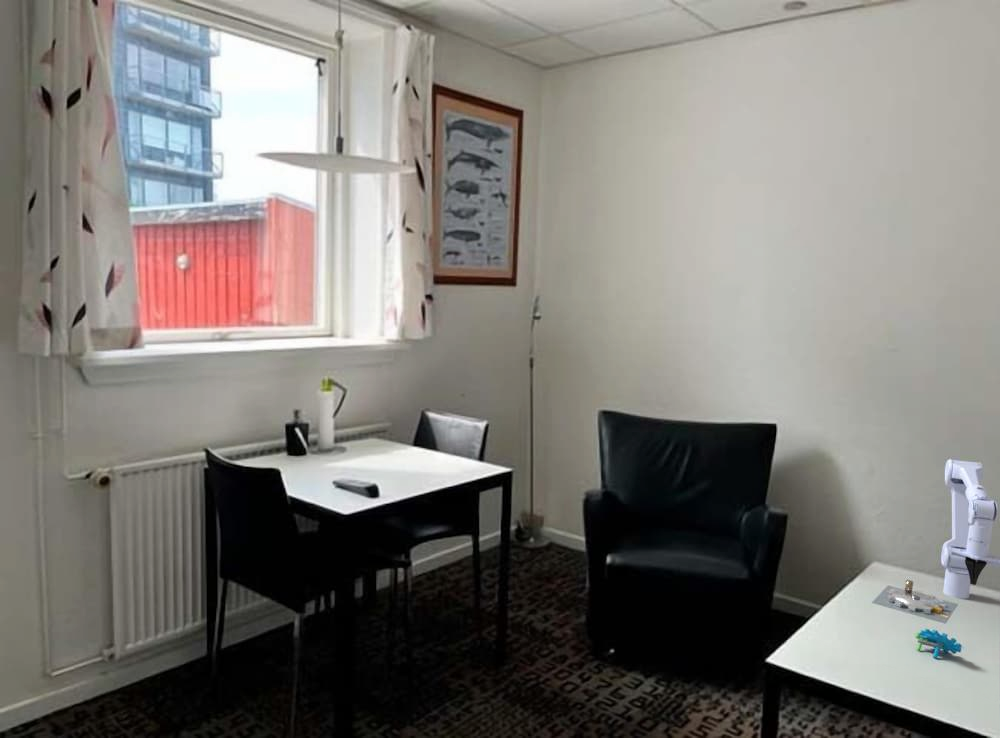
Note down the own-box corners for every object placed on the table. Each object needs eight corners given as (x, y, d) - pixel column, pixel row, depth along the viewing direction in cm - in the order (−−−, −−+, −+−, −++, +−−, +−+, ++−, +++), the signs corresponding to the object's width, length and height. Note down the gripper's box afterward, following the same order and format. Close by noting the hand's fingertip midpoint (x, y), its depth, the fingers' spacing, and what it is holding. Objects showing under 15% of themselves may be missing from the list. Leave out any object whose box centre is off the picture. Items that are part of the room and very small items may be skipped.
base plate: (887, 588, 252) (888, 585, 252) (957, 607, 239) (957, 603, 239) (871, 605, 237) (871, 602, 236) (944, 626, 224) (945, 623, 224)
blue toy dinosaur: (968, 653, 204) (955, 632, 200) (961, 672, 201) (948, 652, 197) (924, 641, 213) (911, 621, 208) (917, 660, 210) (904, 641, 206)
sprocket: (874, 595, 242) (876, 580, 241) (909, 589, 248) (910, 575, 248) (921, 616, 227) (923, 600, 227) (956, 609, 234) (958, 594, 233)
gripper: (948, 536, 231) (943, 580, 233) (1005, 549, 222) (999, 594, 223) (952, 531, 236) (947, 574, 238) (1008, 543, 227) (1003, 587, 229)
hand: (973, 583), depth 231 cm, fingers closed
